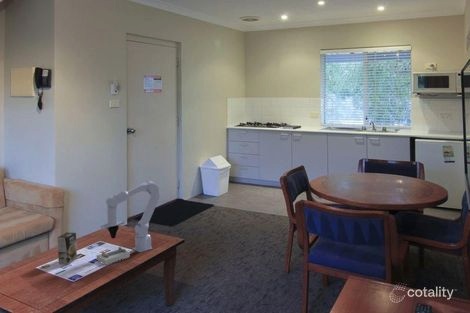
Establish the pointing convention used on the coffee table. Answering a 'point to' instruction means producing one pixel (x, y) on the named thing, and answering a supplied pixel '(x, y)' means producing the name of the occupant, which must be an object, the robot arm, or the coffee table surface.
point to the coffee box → (67, 248)
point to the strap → (113, 252)
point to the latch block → (113, 256)
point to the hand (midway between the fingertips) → (113, 237)
